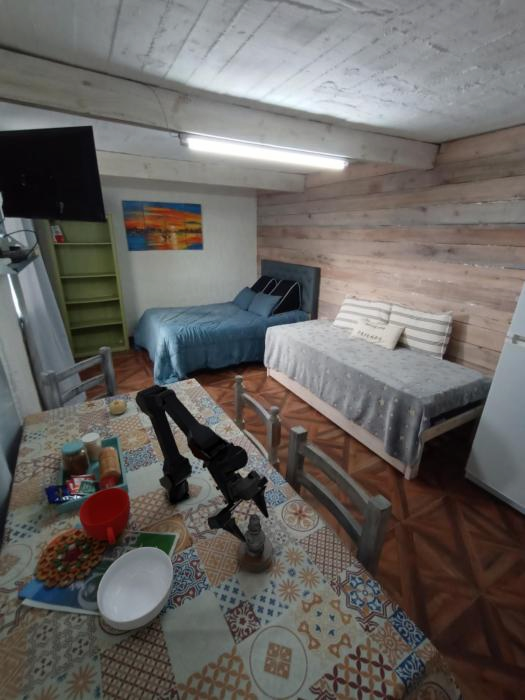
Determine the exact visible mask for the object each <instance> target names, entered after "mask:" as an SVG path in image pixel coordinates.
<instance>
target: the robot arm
mask: <svg viewBox="0 0 525 700" xmlns="http://www.w3.org/2000/svg"><path fill="white" fill-rule="evenodd" d="M134 400H135V404H136V405H137V406H138V408H139V410H140V412H141V413H143V414H145V415H146V416H147V417H148V418H149V420H150V424H151V426H152V429H153V431H154V434H155V437H156V440H157V442H158V445H159V448H160V451H161V453H162V456H163V465H162V469H161V471H162V473H163V476H161V477H160V478H159V479H158V481H159V482H158V483H159V485H160V486H161V487H162V488H164V489H165V492H164V494H165V496H166V498H167V500H168V503H169V505H170V506H171V507H172V506H174V505H176V504H179V503H181V502H183V501H185V500H187V499H189V498H191V497H190V493H189V492H190V485H189V481H188V480H187V479H189V478H191V476H192V474H193V467H192V465H191V462H190V459H189V457H186V456H184V455H183V454H181V453H180V450H179V448H178V445H177V442H176V439H175V435H174V433H173V430H172V427H171V425H170V422H169V419H168V416H169V417H170V419H171V420H172V421H173V422H174V423H175V425H176V426H177V427H178V429H179V430H180V431H181V432H182V434H184V435H185V438H186V444H187V447H188V448H189V450H190V452H191V454H192V456H193V457H194V458H195V459H197V460H200V461H202V469H207V471H208V473H209V474H210V476H211V478H212V480H213V481H214V483H215V485H216V486H215V489H216V491H220V493H221V495H222V496H223V498H224V500H223V503H224V504H225V505H226V506H223V507H221V508H218V509H216V510H215V511H214V512H213V513H211V514H210V515H209V516H208V517H207V525H208V527H209V529H210V530H211V531H213V530H220V529H222V530H224V531H225V532H227V533H229V534H230V535H232V536H234V538H237V540H239V541H240V542H241V541H242V542H243V543H245V542H246V539H245V537H244V533H243V531H242V530H241V529H240V527H239V526H238V524H237V522H236V517H235V516H233V517H232V512H233V511H234V510H235V509H237V507H238V506H239V505H240V504H241V503H242V502H243V501H245V502H249V501H251V500H252V502H253V503H254V504H255V506H256V508H257V509H258V510H259V511H260V513H261V514H262V515H263V517H264V518H266V519H267V518H269V516H270V515H269V511H268V507H267V502H266V497H265V493H266V489H267V488H268V485H267V484H268V483H269V480H268V478H267V476H266V475H265V474H262V473H258V472H257V470H253V469H252V470H251V471H250V472H248V473H247V475H246V476H245V477H243V476H242V475H241V473H240V472H239V471H240V470H241V469H244V468H245V467H247V465H248V463H249V454H248V452H247V450H246V449H245V448H243V446H241V445H235V443H233V441H231V442H229V440H227V439H226V438H223V436H221V435H219V434H218V433H217V432H216V431H214V430H213V429H212V428H211V427H210V426H208V425H205V424H203V423H200V422H199V421H198V419H196V417H195V416H194V415H193V414H192V412H191V411H190V410H189V409H188V408H187V407H186V406H185V405H184V403H183V402H182V401H181V400H180V398H178V397H177V394H176V391H175V390H174V389H172V388H169V387H168V386H167V385H166V386H165V385H163V386H162V385H159V384H156V383H155V384H153V385H151V386H149V387H146V388H144V389H142V390H139V391H137V393H136V396H135V398H134Z"/></svg>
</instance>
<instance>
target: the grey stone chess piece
mask: <svg viewBox="0 0 525 700" xmlns="http://www.w3.org/2000/svg"><path fill="white" fill-rule="evenodd" d="M243 535H244V537H245V539H246V542H245V550H246V552H247V554H249V555H250V556H254V557H256V556H259V555H261V554H262V553H263V551H264V548H265V546H264V543H265V540H266V536H267V535H266V534H265V532H264V530H262V524H261V517H260V516H259V514H256V513H253V514H251V515H250V516H249V517H248V524H247V530H246V532H245V533H243Z"/></svg>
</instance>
